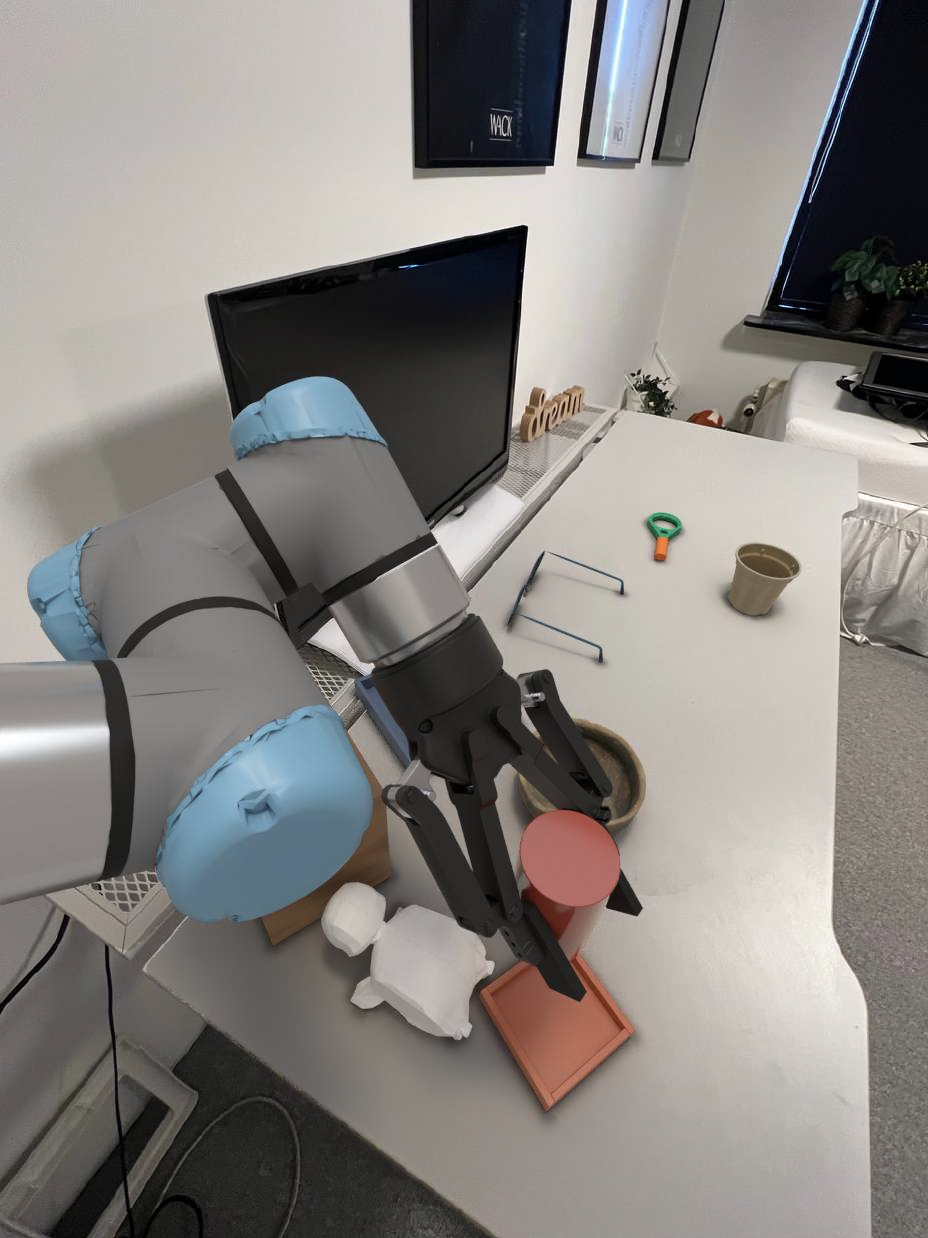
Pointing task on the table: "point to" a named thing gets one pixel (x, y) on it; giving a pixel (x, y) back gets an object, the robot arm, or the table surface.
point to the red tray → (554, 1027)
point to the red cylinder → (567, 874)
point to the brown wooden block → (341, 869)
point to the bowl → (618, 768)
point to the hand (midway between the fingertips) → (597, 946)
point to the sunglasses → (549, 625)
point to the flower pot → (761, 576)
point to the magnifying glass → (663, 532)
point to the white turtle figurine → (409, 959)
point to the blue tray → (383, 717)
